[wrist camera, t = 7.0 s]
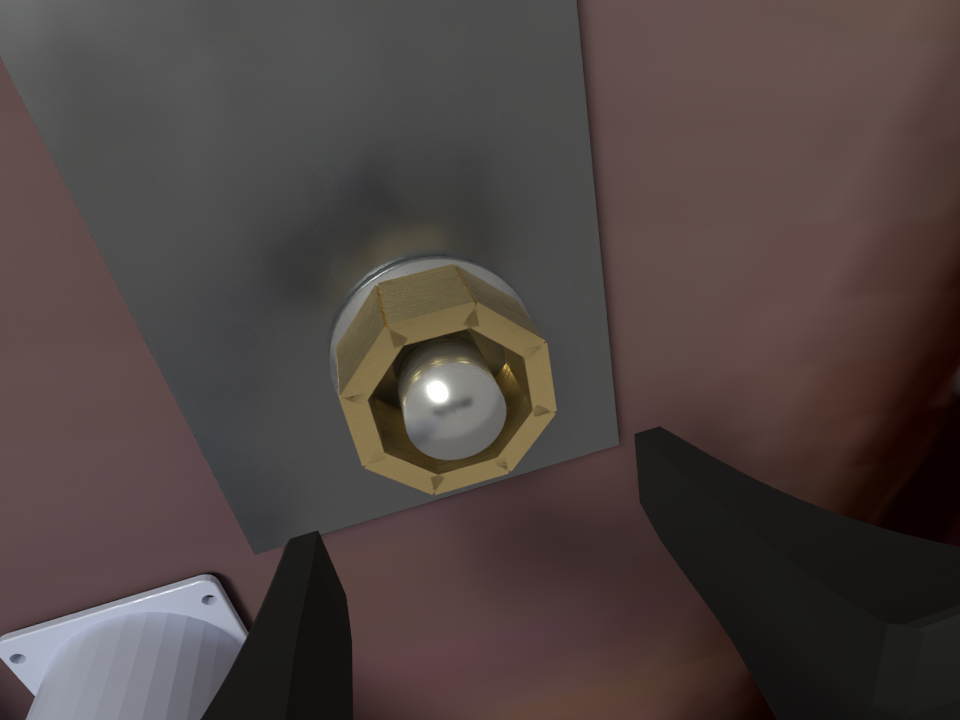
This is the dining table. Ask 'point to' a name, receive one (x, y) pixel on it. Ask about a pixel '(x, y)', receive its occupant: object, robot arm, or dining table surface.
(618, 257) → the dining table surface
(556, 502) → the dining table surface
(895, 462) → the dining table surface
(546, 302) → the block
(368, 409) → the ring
